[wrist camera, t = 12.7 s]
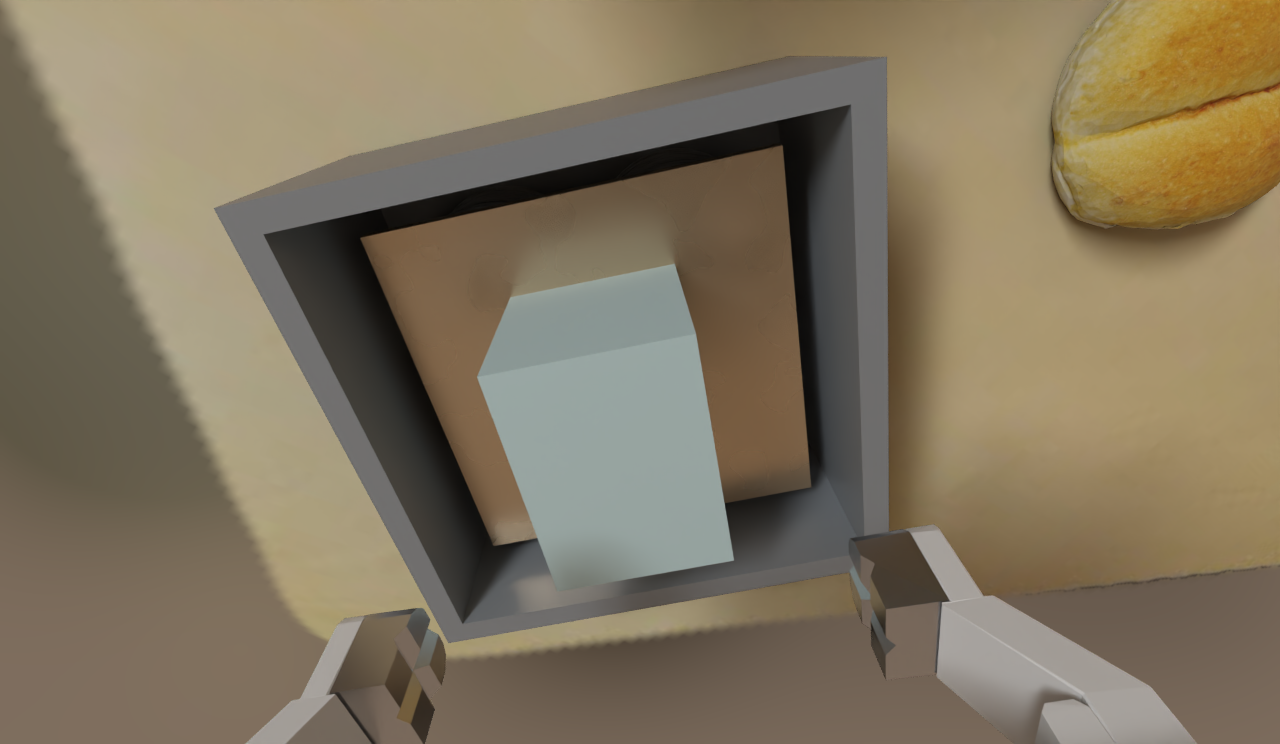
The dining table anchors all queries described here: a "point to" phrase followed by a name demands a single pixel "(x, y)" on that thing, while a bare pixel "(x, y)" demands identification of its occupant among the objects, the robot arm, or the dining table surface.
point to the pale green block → (609, 428)
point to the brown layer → (600, 248)
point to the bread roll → (1169, 113)
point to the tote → (558, 160)
